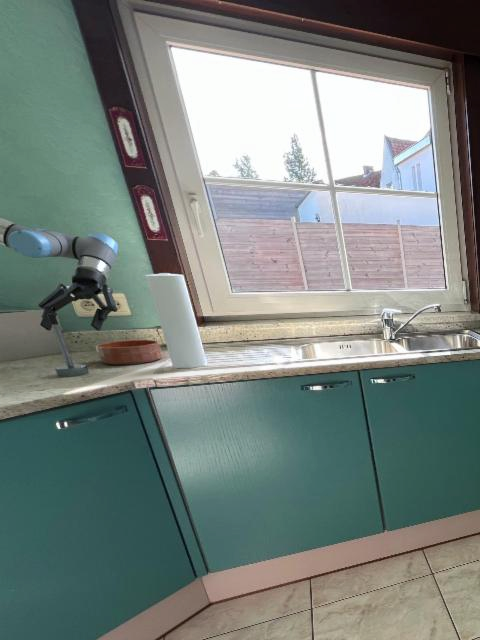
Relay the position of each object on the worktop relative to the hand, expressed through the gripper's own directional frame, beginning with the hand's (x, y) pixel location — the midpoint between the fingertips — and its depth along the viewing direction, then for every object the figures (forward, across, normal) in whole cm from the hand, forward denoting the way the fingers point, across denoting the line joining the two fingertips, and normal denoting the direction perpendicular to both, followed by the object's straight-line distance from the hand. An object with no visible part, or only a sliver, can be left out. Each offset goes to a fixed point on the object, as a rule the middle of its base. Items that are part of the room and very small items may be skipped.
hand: (70, 327), depth 153 cm
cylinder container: (+5, -26, -15) cm, 30 cm away
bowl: (-1, -4, -21) cm, 21 cm away
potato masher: (+13, 0, -6) cm, 14 cm away
